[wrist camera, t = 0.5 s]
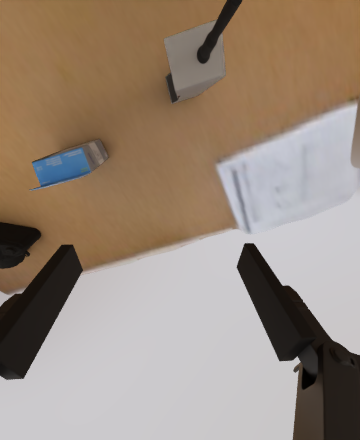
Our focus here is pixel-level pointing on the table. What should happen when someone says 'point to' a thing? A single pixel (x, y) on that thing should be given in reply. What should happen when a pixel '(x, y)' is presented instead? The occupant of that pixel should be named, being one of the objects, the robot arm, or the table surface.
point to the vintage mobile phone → (197, 56)
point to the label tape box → (69, 164)
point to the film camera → (15, 243)
